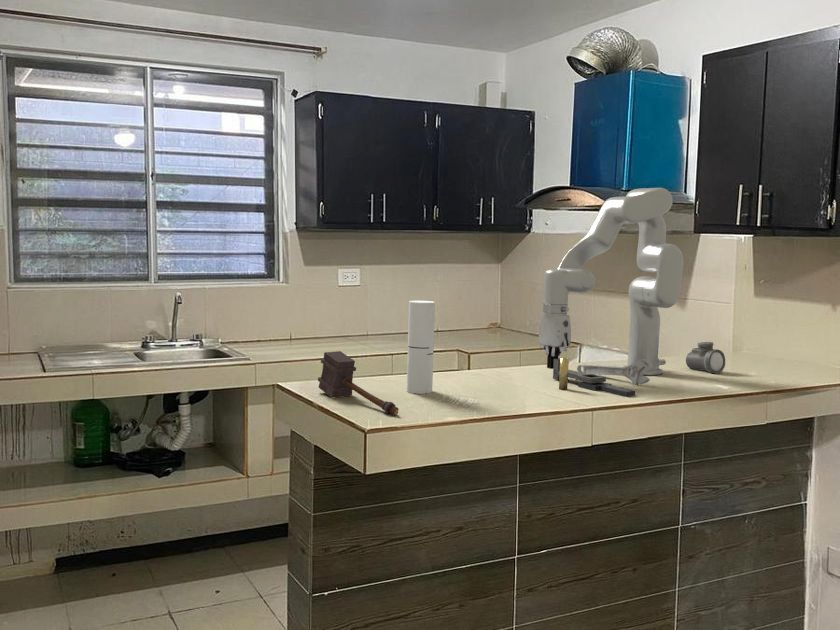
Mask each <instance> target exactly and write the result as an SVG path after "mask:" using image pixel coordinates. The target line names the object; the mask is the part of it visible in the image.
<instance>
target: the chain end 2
mask: <svg viewBox="0 0 840 630" xmlns="http://www.w3.org/2000/svg"><path fill="white" fill-rule="evenodd" d="M577 387H578V388H581V389H586V390H590V391H596V392H597V391H599V392H600V391H601V392H604V393H608V394H612V395H616V396H617V395H618V396H619V397H625V398H626V397H634V396H636V390H634V389H630V388H626V387H621V386H617V385H613V384H612V383H609V382H599V383H587V382H583V381H578V382H577Z"/></svg>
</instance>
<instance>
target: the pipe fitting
mask: <svg viewBox="0 0 840 630" xmlns="http://www.w3.org/2000/svg"><path fill="white" fill-rule="evenodd" d="M696 346H697V347H694V348H692V349H691V351H690V352H688V353H687V354H686V357H685V365H686V366H687V367H688V369H690V370H691V369H692V370H702V371H703V370H704V371H705V370H706V371H707V372H708V373H711V374H717V375H718V374H720V373H722V372H723V371H724V369H725V366H726V356H725V354H724V352H723V351H722V350H721V349H715V348H714V342H713V341H702V342H698V343H697V345H696Z"/></svg>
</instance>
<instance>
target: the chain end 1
mask: <svg viewBox="0 0 840 630" xmlns="http://www.w3.org/2000/svg"><path fill="white" fill-rule="evenodd" d="M560 358H561V357H560ZM560 358H559V357H558V358H556V359H554V365H553V369H552V371H553V372H552V379H553V380H557V381H558V380H559V376H560ZM582 372H583V371H582ZM582 372H578V371H577V370H572V369H568V379H569V378H570V379H573V380H575V381H578V382H587V383H599V382H605V383H607V377H606V376H605V375H598V374H586V373H582Z"/></svg>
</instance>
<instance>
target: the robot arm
mask: <svg viewBox="0 0 840 630" xmlns="http://www.w3.org/2000/svg"><path fill="white" fill-rule="evenodd" d="M673 199H674V198H673V195H672V193H671V192H670V191H669V190H668V189H666V188H664V187H648V188H647V187H644V188H643V187H641V188H635V189H632V190H630V191H628V192H627V194H626V195H625V196H613V197H609V198H607V199H606V200H605V201H604V202H603V204H602V206H601V207H600V209H599V211H598V212H597V214H596V216H595V218H594V221H593V222H592V223H591V226H590V228H589V229H588V231H587V233H586V234H585V236H584V237H583V238H581V239H580V240H579V241H578V242H577V243H576V244H575V245H574V246H573V247H571V249H569V250H568V251H567V253H566V254H565V255H564V257H562V260H561V261H560V264H559V266H558V267H557V269H554V268H552V269H547V270H545V272H544V276H543V277H544V279H543V298H542V302H543V303H542V313H541V315H540V319H539V320H540V321H539V325H538V326H539V327H538V342H539V346H540V348H541V349H544V351H545V354H546V356H547V358H546V359H547V360H546V361H547V363H546V368H547V369H550V370H553V365H554V359H556V358H559V357H560V356H561V354H562V352H567V351H568V347H570V346H571V342H572V328H571V327H572V326H571V318H570V315H569V314H568V312H569V310H570V308H569V307H568V305H569V293H574V294H587V293H589V292H591V291H592V290H593V289H594V287H595V285H596V278H595V276H594V274H593V273H592V272H591V271H590V270H587V269H584V268H583V267H584V266H585V264H586V263H587V262H588V261H590V260H592V259H593V258H594V257H597V256H600V255H602V254H604V253H605V252H607V251H609V250H610V249H611V248H612V245H613V244H614V242H615V240H616V239H617V237H618V234H619V232H620V231H621V229H622V227H623V225H624V224H625V225H633V224H638V243H637V250H636V265H637V268H638V269H639V270H641V271H642V272H645V273H656V276H652V275H651V276H650V275H649V276H648V275H644V276H643V275H642V276H638V277H635V278H634V279H633V280H632V281H631V282H630V284H629V286H628V301H629V309H630V310H629V311H630V312H629V313H630V314H629V317H630V318H629V320H630V321H629V335H628V347H627V348H628V352H627V365H624V366H623V367H626V366H628V365H631V364H633V363H635V362H637V361H638V360H648V361H649V362H651V364H652V365H653V367H654V369H653V370H649V369H647V368H644V369H643V371H642V373H643V376H657V375H661V374H662V373H663V369H661V368H660V366H664V365H666V362H667V361H666V360H665V359H664V358H663V359H660V357H659V347H660V345H659V344H660V330H661V329H660V328H661V314H660V312H659V311H660V310H659V309H660V308H662V309H670V308H672V307H674V306H675V305H676V304H677V303H678V300H679V298H680V295H681V287H682V281H683V280H682V279H683V272H684V271H683V270H684V257H683V253H682V250H681V249H680V248H679V247H678V246H677V245H675V244H673V243H667V241H666V240H667V225H666V224H667V223H666V221H665V218H664V215H665V214H667V213H668V212H669V211H670V209H671V208H672V206H673V203H674V201H673ZM582 268H583V269H582Z"/></svg>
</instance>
